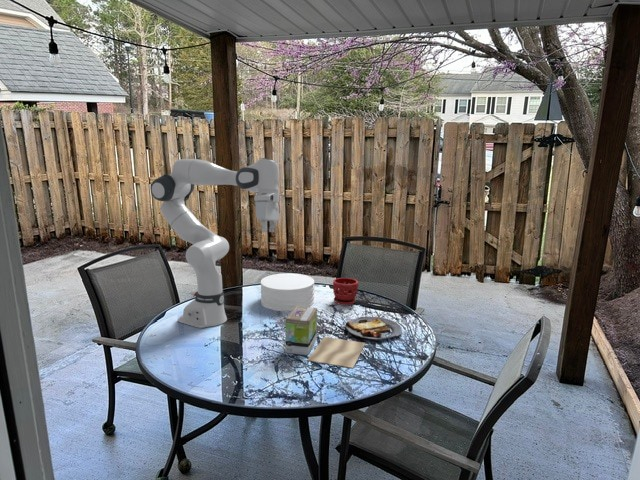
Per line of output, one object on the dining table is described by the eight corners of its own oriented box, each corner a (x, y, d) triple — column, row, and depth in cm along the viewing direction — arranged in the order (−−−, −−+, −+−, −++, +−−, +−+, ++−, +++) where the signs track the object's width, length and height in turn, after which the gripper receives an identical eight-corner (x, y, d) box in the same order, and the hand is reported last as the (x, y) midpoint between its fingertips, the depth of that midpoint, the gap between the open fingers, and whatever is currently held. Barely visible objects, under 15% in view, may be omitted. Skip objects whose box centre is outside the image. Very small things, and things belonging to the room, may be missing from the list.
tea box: (309, 355, 173) (309, 320, 170) (284, 353, 175) (284, 318, 172) (317, 339, 188) (317, 307, 185) (294, 337, 190) (294, 305, 186)
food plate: (360, 346, 182) (361, 338, 181) (336, 325, 203) (336, 318, 202) (411, 337, 192) (411, 330, 191) (383, 319, 213) (383, 312, 212)
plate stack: (319, 295, 243) (319, 275, 240) (306, 313, 216) (306, 291, 214) (271, 291, 249) (271, 271, 247) (253, 308, 222) (252, 287, 220)
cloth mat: (307, 360, 169) (307, 360, 169) (324, 337, 190) (324, 336, 190) (352, 368, 164) (352, 367, 164) (365, 343, 184) (365, 342, 184)
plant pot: (358, 306, 226) (359, 284, 223) (332, 306, 226) (333, 284, 224) (356, 298, 239) (357, 277, 236) (332, 297, 239) (332, 276, 236)
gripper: (268, 200, 191) (268, 232, 191) (252, 196, 171) (252, 231, 171) (282, 200, 189) (282, 232, 190) (268, 195, 169) (268, 231, 170)
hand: (268, 232), depth 180 cm, fingers open, 8 cm apart
